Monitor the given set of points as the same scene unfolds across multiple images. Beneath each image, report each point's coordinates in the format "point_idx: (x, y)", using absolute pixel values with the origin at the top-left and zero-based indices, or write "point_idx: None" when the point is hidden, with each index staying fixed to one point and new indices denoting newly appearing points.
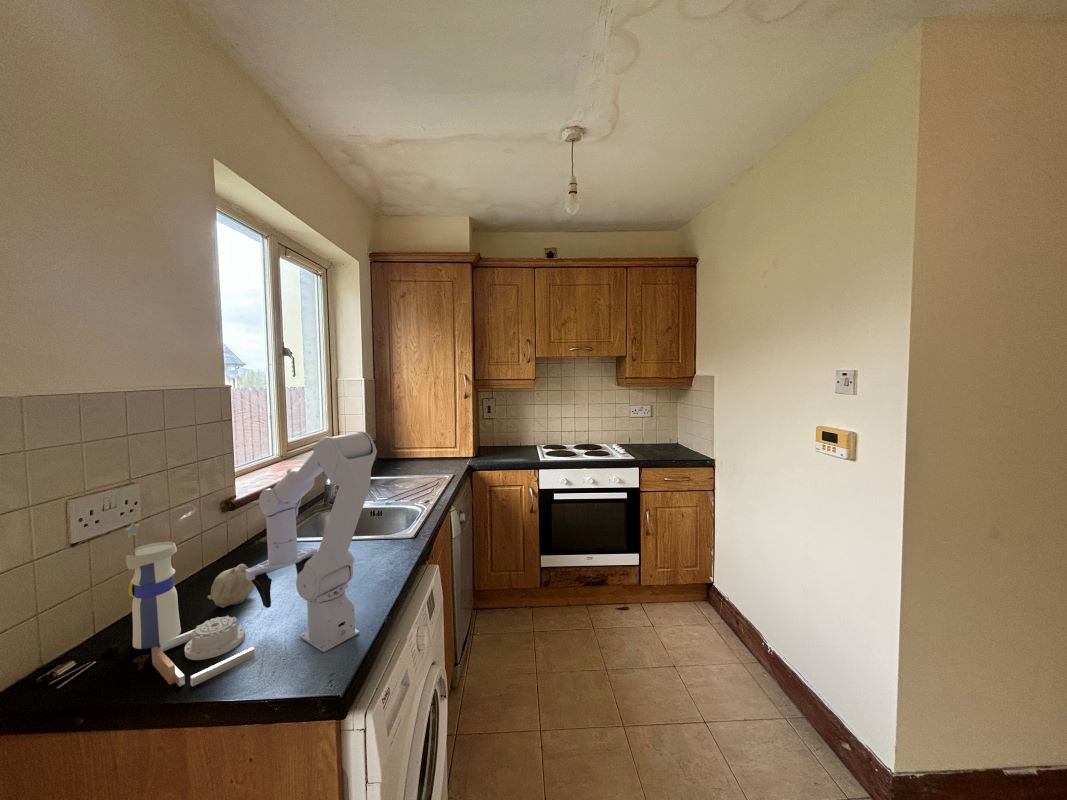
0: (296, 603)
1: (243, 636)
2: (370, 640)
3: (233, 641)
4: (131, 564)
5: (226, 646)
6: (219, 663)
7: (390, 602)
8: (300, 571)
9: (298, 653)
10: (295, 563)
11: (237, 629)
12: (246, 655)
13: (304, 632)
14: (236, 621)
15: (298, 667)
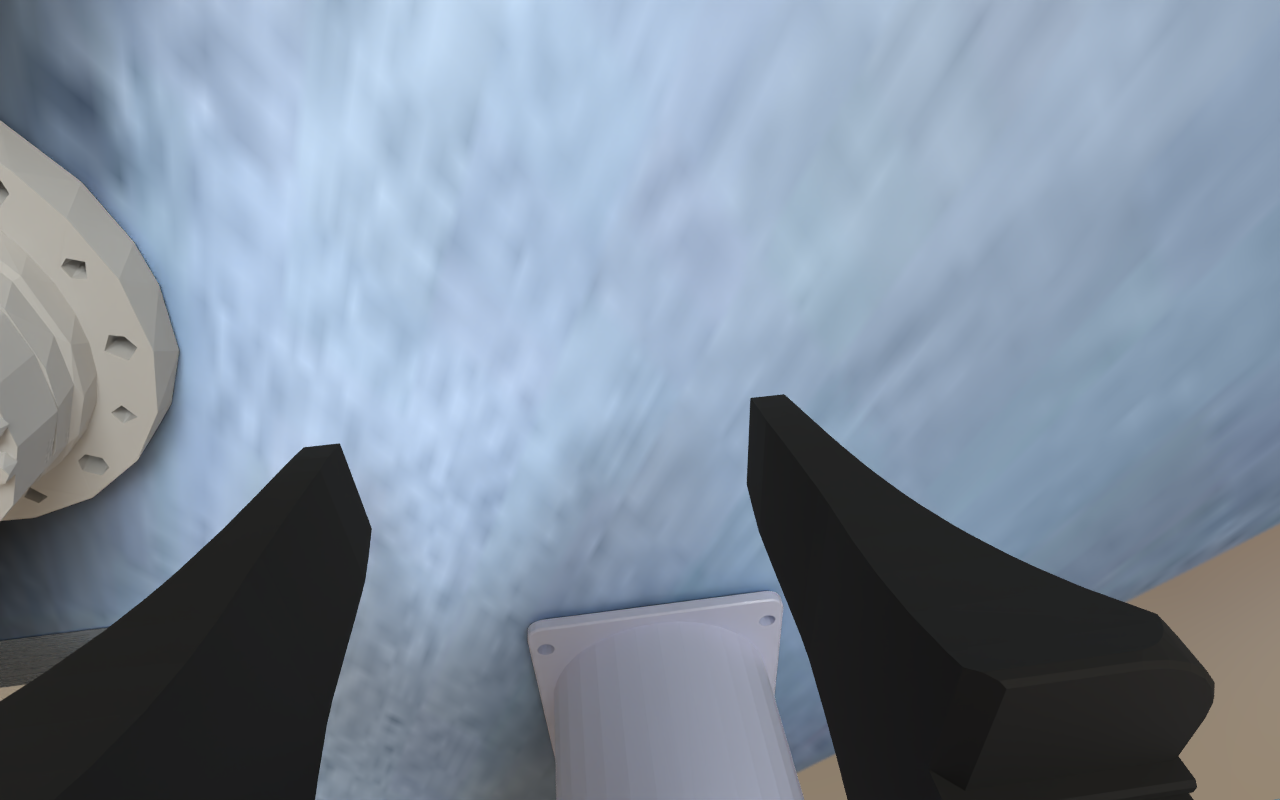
0: (763, 87)
1: (156, 425)
2: None
3: (67, 484)
4: None
5: (15, 513)
6: (2, 695)
7: None
8: (853, 668)
9: (469, 719)
10: (934, 657)
11: (69, 399)
12: None
13: (561, 631)
14: (8, 482)
15: (434, 788)
